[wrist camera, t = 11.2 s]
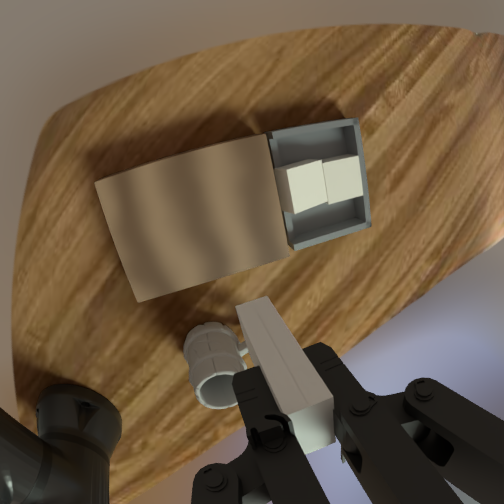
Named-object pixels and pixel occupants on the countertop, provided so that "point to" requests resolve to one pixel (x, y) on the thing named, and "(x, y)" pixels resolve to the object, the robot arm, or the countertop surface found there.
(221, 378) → the mug
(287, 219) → the tray
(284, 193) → the tile
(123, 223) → the board
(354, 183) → the tile
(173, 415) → the countertop surface
